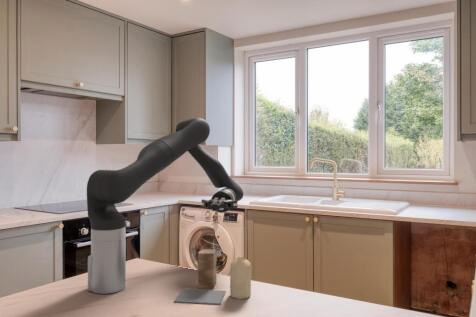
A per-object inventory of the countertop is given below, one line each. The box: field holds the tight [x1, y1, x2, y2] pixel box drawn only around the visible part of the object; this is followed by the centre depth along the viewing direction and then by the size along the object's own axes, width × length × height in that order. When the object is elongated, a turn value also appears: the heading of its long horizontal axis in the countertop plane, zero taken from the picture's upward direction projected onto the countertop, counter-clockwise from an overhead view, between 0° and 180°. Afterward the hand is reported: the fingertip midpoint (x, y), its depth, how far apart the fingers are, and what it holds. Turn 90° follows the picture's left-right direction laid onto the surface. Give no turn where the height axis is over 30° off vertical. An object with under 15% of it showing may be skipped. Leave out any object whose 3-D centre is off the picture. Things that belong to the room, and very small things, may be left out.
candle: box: [229, 256, 252, 300], centre depth 104 cm, size 6×6×10 cm
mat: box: [173, 288, 227, 306], centre depth 102 cm, size 12×9×1 cm
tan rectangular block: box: [197, 248, 217, 290], centre depth 111 cm, size 4×5×10 cm
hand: (214, 207), depth 121 cm, fingers closed
